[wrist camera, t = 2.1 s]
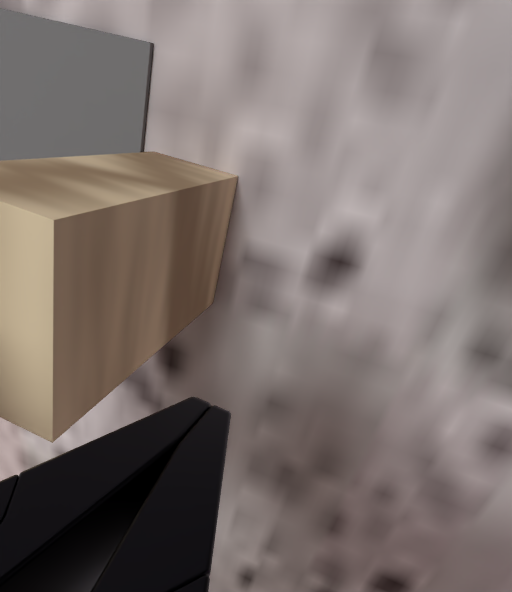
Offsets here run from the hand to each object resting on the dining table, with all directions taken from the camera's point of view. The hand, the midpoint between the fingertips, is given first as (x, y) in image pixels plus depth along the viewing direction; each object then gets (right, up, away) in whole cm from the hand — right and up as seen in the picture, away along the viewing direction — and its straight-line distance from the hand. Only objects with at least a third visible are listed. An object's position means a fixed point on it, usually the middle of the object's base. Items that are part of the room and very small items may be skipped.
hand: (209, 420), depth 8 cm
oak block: (-2, +5, +10) cm, 12 cm away
